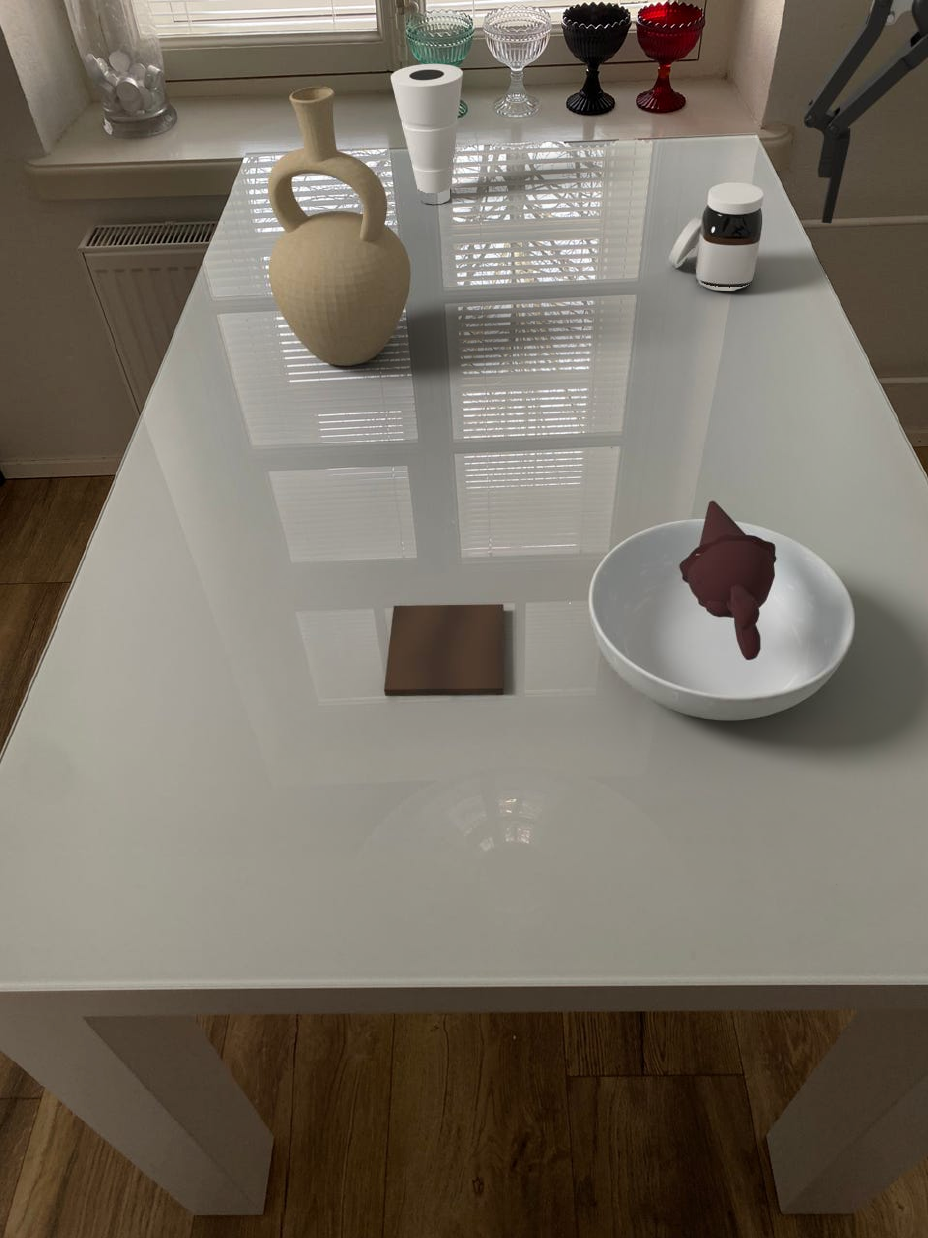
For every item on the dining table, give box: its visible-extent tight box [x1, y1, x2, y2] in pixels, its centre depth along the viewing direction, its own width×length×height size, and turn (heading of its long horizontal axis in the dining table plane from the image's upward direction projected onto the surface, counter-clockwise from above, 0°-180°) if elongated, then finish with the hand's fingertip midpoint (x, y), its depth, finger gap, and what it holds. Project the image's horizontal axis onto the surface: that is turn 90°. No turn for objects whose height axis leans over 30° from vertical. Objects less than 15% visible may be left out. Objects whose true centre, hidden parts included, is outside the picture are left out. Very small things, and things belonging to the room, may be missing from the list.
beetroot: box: [679, 500, 776, 660], centre depth 75 cm, size 7×7×15 cm
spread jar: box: [667, 181, 765, 288], centre depth 126 cm, size 12×11×12 cm
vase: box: [267, 86, 412, 367], centre depth 110 cm, size 17×17×30 cm
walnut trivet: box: [383, 603, 505, 696], centre depth 84 cm, size 10×10×1 cm
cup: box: [390, 63, 464, 193], centre depth 147 cm, size 11×11×18 cm
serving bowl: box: [588, 518, 856, 721], centre depth 80 cm, size 21×21×7 cm
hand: (913, 222), depth 79 cm, fingers open, 13 cm apart
